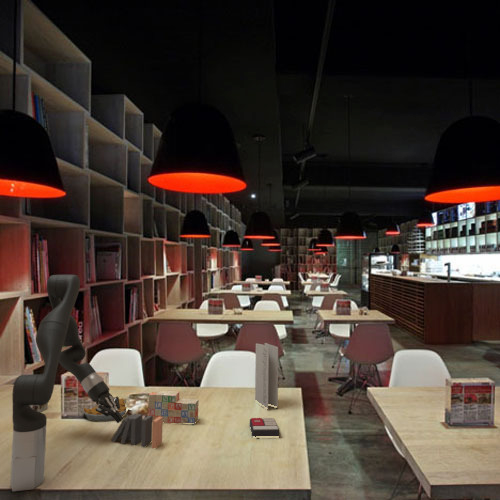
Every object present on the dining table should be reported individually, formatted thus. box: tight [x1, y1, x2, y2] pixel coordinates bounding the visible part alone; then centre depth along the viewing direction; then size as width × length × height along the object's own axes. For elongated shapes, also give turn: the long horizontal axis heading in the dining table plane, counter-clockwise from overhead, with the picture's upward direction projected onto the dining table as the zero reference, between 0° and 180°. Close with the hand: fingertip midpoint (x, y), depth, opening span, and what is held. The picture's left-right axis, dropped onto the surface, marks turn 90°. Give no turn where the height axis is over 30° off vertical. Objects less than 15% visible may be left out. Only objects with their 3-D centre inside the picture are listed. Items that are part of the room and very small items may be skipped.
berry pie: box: [82, 398, 126, 422], centre depth 188 cm, size 22×22×5 cm
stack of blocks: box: [148, 390, 199, 425], centre depth 181 cm, size 21×6×12 cm, turn 82°
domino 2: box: [120, 413, 138, 445], centre depth 158 cm, size 2×5×10 cm, turn 164°
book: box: [249, 417, 280, 437], centre depth 170 cm, size 11×4×15 cm
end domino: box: [151, 417, 164, 449], centre depth 155 cm, size 2×5×10 cm, turn 164°
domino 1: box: [110, 414, 132, 443], centre depth 159 cm, size 2×5×10 cm
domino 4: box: [140, 414, 152, 448], centre depth 156 cm, size 2×5×10 cm, turn 164°
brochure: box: [254, 342, 279, 409], centre depth 204 cm, size 14×6×30 cm, turn 25°
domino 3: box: [130, 413, 143, 446], centre depth 157 cm, size 2×5×10 cm, turn 164°
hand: (120, 421), depth 159 cm, fingers closed
